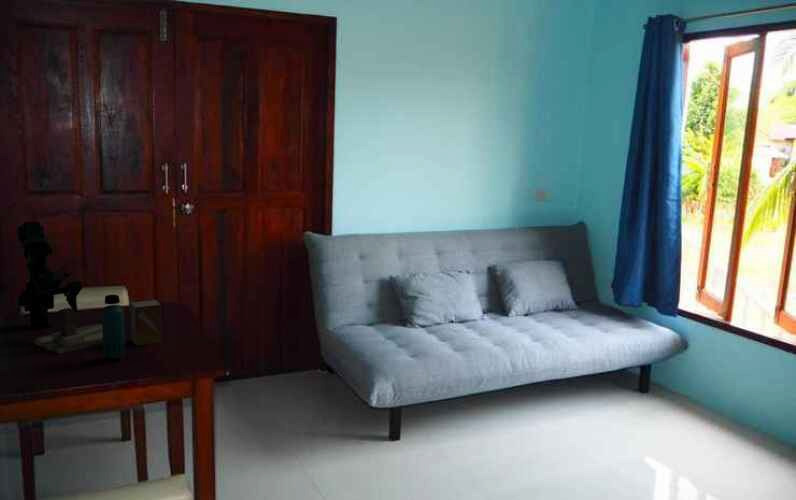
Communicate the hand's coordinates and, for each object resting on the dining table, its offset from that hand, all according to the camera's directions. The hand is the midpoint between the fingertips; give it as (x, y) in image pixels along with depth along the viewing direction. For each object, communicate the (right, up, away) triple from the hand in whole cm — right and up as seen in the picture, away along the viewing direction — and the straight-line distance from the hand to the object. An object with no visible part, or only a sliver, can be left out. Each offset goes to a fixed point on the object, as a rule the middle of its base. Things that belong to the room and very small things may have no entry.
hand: (62, 314), depth 218 cm
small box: (+23, -10, +9) cm, 27 cm away
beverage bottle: (+20, -13, -8) cm, 25 cm away
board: (+2, -9, +8) cm, 12 cm away
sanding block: (+2, -9, 0) cm, 9 cm away
